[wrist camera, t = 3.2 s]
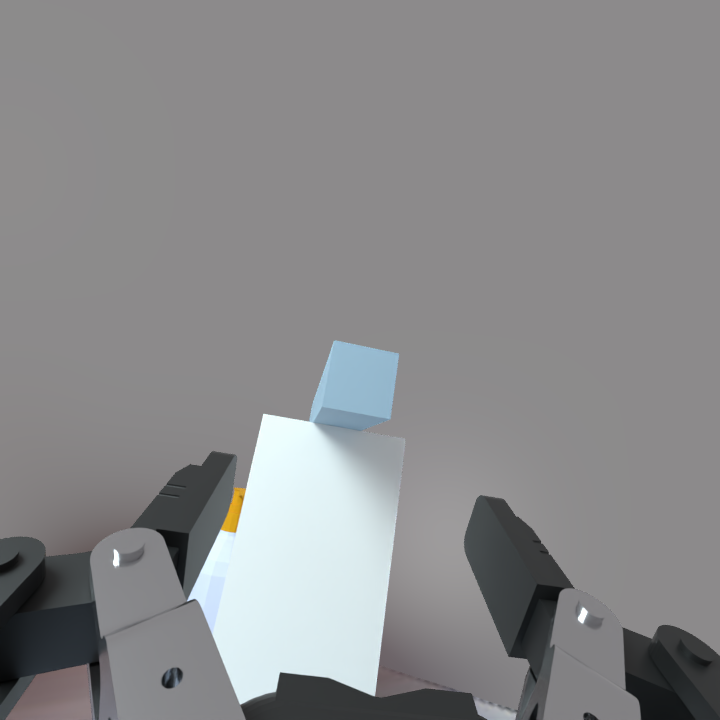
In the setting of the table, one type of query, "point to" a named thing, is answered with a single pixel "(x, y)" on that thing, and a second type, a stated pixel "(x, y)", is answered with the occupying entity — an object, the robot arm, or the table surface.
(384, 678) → the table surface
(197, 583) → the soap bottle
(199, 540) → the robot arm
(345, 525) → the storage box
